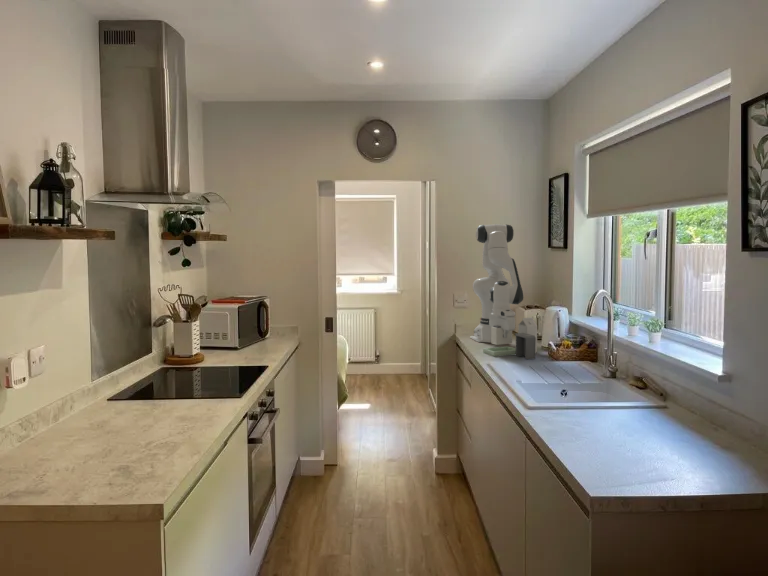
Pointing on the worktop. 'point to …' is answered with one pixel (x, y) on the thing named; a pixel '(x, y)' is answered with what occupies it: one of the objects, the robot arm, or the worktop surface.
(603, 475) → the worktop surface
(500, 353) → the tray
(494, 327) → the cream box grey panel
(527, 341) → the open-top grey box
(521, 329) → the milk carton
